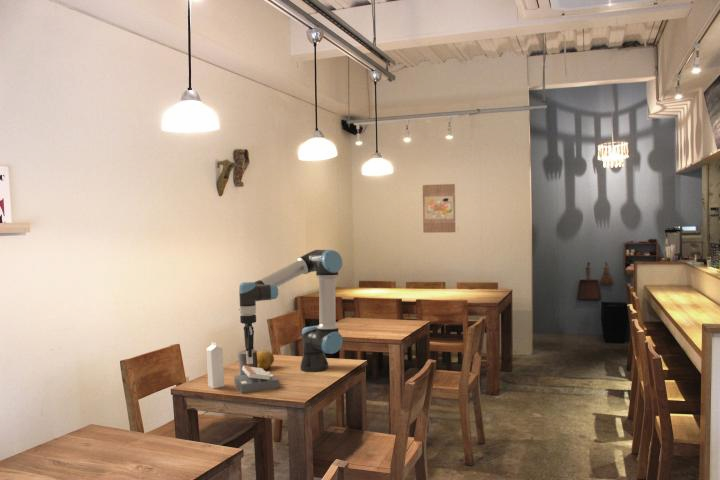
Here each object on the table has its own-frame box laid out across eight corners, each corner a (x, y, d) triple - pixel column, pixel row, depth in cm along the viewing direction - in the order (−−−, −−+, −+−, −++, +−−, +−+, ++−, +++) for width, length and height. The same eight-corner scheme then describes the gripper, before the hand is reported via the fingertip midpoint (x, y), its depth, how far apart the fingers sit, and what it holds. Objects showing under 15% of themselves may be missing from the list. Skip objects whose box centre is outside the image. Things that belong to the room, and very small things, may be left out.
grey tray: (269, 379, 307) (269, 369, 307) (279, 387, 290) (278, 377, 290) (234, 384, 301) (234, 374, 301) (241, 393, 283) (241, 382, 283)
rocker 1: (261, 372, 305) (262, 367, 305) (263, 374, 300) (264, 369, 301) (242, 369, 301) (243, 365, 301) (243, 371, 297) (244, 367, 297)
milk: (213, 388, 294) (210, 344, 293) (208, 386, 299) (205, 342, 298) (224, 386, 297) (222, 342, 297) (219, 384, 302) (217, 340, 301)
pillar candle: (261, 375, 315) (260, 347, 315) (251, 380, 306) (249, 351, 306) (246, 374, 319) (245, 346, 319) (235, 379, 311) (233, 350, 310)
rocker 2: (264, 374, 299) (264, 370, 299) (266, 376, 295) (267, 372, 295) (244, 372, 296) (245, 367, 296) (246, 374, 291) (247, 369, 291)
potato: (253, 371, 325) (252, 353, 325) (257, 366, 338) (256, 348, 337) (272, 370, 325) (271, 352, 325) (275, 365, 338) (274, 347, 337)
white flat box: (266, 377, 293) (267, 372, 294) (269, 379, 289) (270, 374, 289) (246, 375, 290) (247, 370, 290) (249, 377, 285) (249, 372, 285)
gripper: (237, 313, 292) (239, 361, 292) (242, 316, 280) (244, 367, 280) (253, 312, 295) (254, 360, 295) (258, 315, 283) (260, 365, 283)
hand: (249, 363), depth 288 cm, fingers closed
